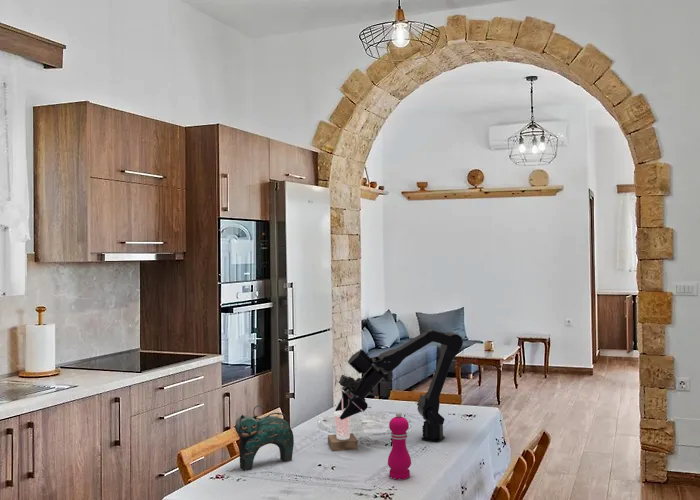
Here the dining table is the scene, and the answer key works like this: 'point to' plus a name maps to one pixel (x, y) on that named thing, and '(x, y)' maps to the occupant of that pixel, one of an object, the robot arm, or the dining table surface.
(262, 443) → the ceramic cat
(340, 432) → the beverage cup
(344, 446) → the walnut block
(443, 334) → the robot arm
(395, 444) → the pepper mill
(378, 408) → the dining table surface
